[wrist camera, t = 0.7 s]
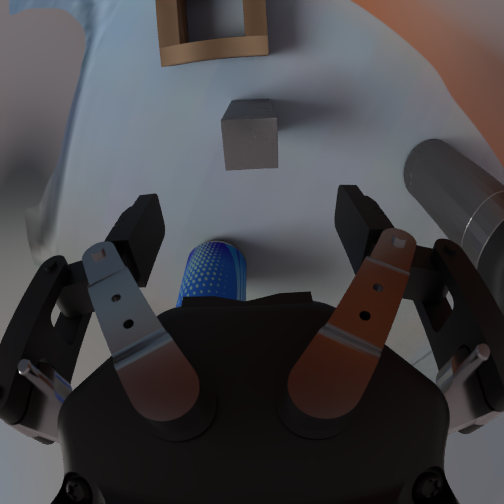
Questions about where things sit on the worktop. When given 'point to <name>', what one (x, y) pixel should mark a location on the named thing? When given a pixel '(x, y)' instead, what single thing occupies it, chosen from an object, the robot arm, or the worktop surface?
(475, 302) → the robot arm
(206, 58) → the wooden square frame
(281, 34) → the worktop surface
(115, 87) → the worktop surface
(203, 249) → the beer can
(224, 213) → the worktop surface
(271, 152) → the peg
